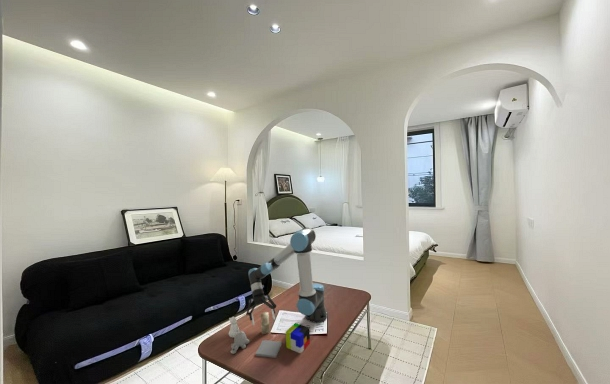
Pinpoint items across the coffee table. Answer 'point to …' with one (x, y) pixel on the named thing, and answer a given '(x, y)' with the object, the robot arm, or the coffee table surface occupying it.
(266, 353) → the board
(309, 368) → the coffee table surface
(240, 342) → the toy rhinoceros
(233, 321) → the sitting furry creature
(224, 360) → the coffee table surface
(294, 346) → the puzzle toy
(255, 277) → the robot arm
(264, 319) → the birch tool handle
